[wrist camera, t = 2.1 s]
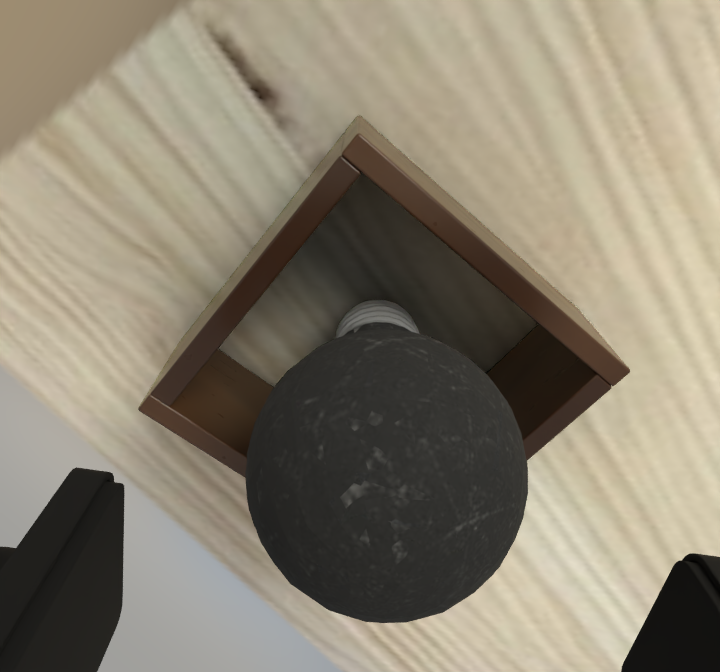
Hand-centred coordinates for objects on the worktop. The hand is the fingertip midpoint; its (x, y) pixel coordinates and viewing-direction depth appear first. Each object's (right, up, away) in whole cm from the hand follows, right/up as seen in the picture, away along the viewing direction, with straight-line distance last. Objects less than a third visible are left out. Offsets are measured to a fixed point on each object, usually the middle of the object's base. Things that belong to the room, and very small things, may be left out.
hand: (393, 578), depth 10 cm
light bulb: (0, +4, +9) cm, 10 cm away
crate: (0, +4, +9) cm, 10 cm away
